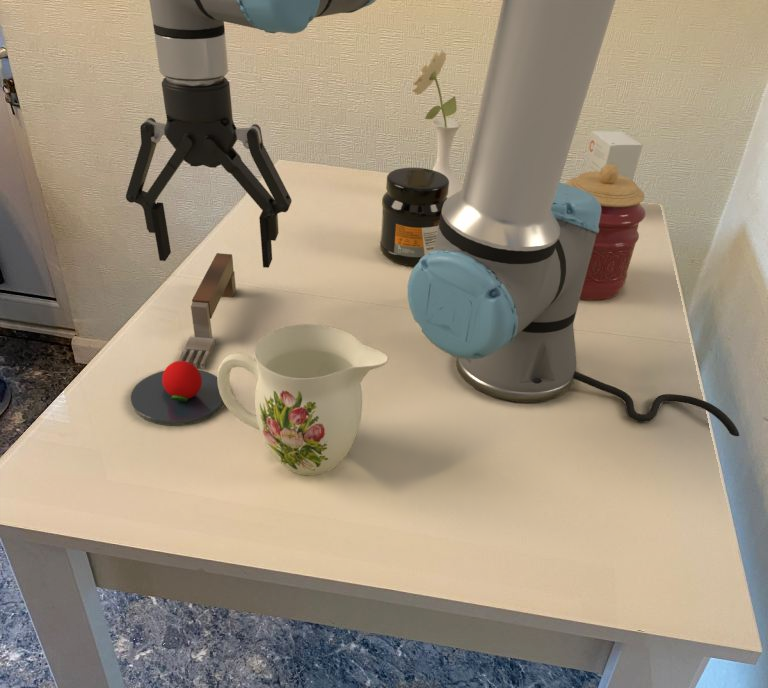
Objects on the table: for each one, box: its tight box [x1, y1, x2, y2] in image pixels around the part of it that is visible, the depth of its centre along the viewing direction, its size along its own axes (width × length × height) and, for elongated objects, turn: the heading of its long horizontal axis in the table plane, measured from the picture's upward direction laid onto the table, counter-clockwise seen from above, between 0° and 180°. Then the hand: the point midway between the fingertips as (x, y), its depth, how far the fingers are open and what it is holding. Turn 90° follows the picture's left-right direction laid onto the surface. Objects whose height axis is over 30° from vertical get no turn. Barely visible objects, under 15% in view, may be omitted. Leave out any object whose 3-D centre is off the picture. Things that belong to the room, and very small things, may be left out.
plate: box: [130, 369, 225, 426], centre depth 87 cm, size 11×11×1 cm
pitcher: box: [216, 323, 389, 476], centre depth 76 cm, size 11×18×14 cm, turn 75°
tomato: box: [162, 360, 202, 402], centre depth 85 cm, size 4×4×4 cm
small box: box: [581, 130, 643, 181], centre depth 134 cm, size 8×6×13 cm
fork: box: [178, 252, 237, 369], centre depth 98 cm, size 21×3×6 cm, turn 177°
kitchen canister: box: [565, 164, 646, 301], centre depth 110 cm, size 13×13×18 cm
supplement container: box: [379, 167, 449, 267], centre depth 116 cm, size 10×10×12 cm
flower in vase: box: [412, 49, 463, 198], centre depth 127 cm, size 13×11×25 cm
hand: (216, 260), depth 97 cm, fingers open, 13 cm apart
